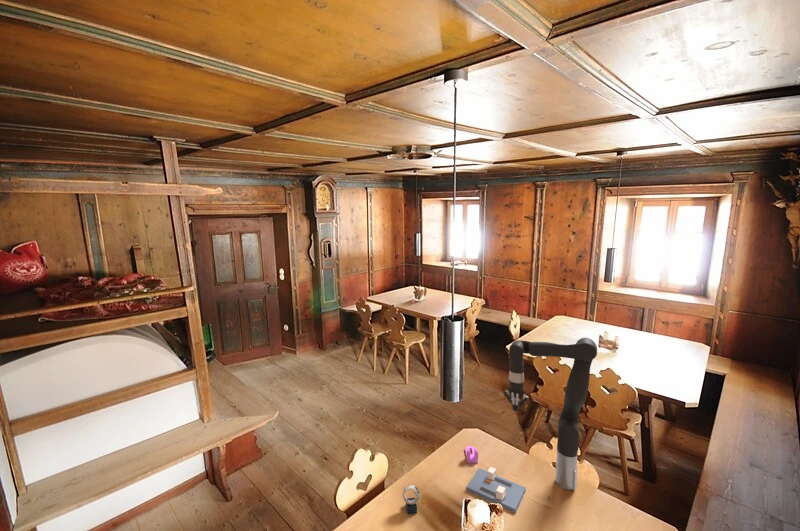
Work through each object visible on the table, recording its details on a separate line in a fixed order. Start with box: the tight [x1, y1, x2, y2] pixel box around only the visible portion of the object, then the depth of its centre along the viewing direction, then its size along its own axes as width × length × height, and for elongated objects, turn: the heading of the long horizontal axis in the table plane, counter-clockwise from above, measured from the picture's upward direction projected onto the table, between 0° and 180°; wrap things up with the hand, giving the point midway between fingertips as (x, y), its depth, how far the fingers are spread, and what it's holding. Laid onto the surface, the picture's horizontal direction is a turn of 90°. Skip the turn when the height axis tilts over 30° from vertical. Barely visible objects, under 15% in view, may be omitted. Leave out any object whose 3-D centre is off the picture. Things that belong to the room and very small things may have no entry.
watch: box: [402, 484, 421, 515], centre depth 158 cm, size 6×8×11 cm
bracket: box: [464, 445, 479, 464], centre depth 195 cm, size 13×6×7 cm, turn 176°
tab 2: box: [496, 485, 505, 501], centre depth 162 cm, size 3×4×4 cm
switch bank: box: [465, 467, 527, 514], centre depth 169 cm, size 24×16×2 cm, turn 55°
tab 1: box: [487, 466, 497, 480], centre depth 175 cm, size 3×4×4 cm
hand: (515, 410), depth 183 cm, fingers closed
